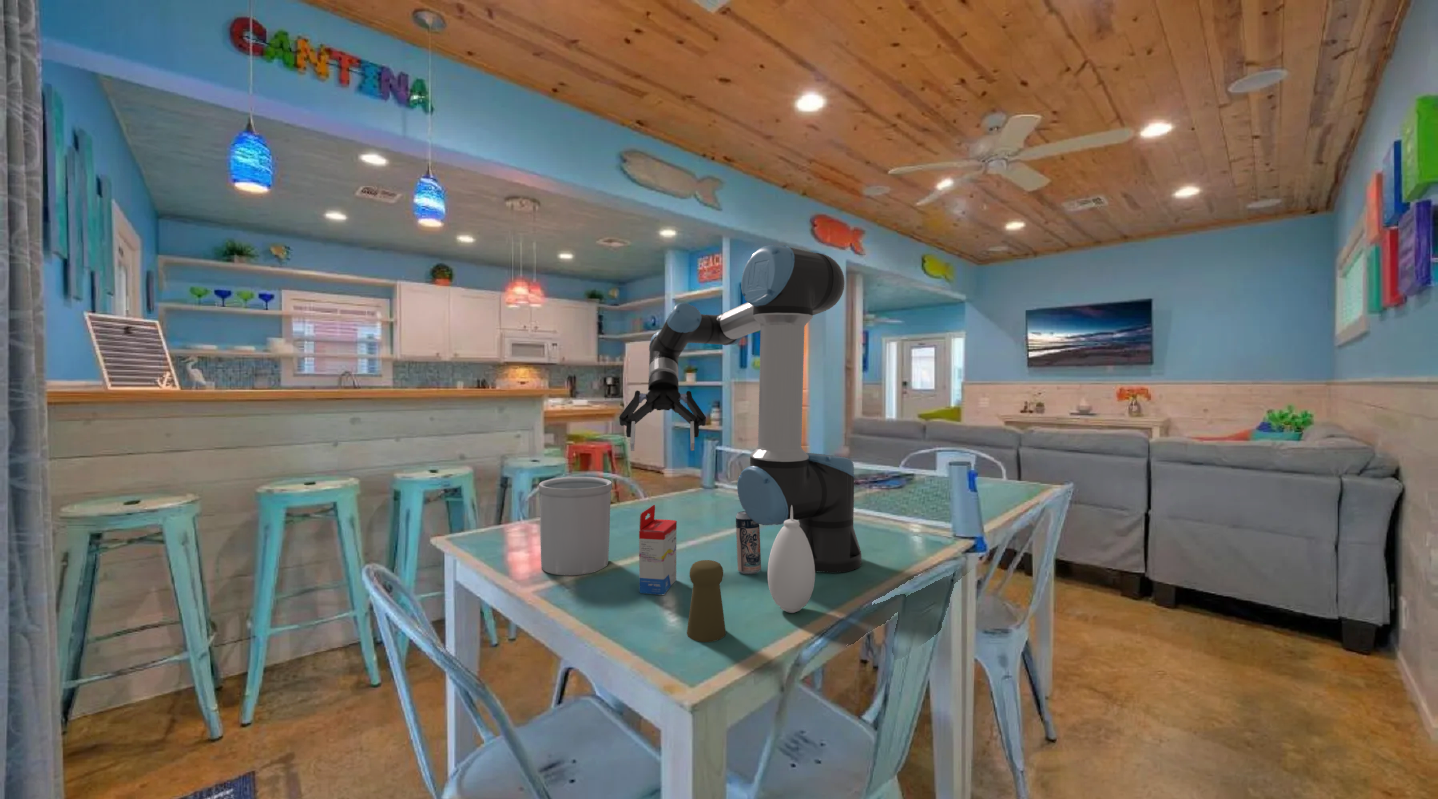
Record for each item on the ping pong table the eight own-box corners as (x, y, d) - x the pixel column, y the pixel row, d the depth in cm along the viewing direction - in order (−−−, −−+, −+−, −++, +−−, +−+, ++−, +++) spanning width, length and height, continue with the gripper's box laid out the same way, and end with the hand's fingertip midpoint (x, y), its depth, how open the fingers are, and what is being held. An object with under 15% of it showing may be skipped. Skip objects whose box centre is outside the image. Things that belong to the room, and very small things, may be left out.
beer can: (744, 576, 109) (742, 514, 110) (733, 571, 113) (731, 512, 114) (765, 572, 111) (763, 512, 112) (754, 568, 115) (751, 510, 116)
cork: (686, 624, 88) (686, 556, 88) (723, 623, 89) (724, 555, 88) (687, 642, 82) (687, 569, 82) (727, 641, 83) (728, 568, 82)
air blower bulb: (759, 613, 92) (760, 506, 92) (779, 598, 99) (780, 498, 98) (803, 624, 88) (804, 512, 88) (821, 607, 95) (822, 503, 94)
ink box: (664, 596, 100) (664, 515, 99) (638, 593, 101) (638, 514, 100) (677, 579, 108) (677, 504, 108) (653, 577, 109) (653, 503, 109)
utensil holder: (587, 549, 127) (586, 473, 126) (626, 564, 117) (625, 482, 116) (526, 564, 116) (525, 481, 116) (563, 583, 106) (562, 492, 105)
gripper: (711, 390, 143) (716, 456, 129) (614, 390, 141) (607, 457, 127) (713, 369, 138) (718, 436, 124) (612, 368, 136) (605, 436, 121)
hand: (662, 447), depth 125 cm, fingers open, 13 cm apart
